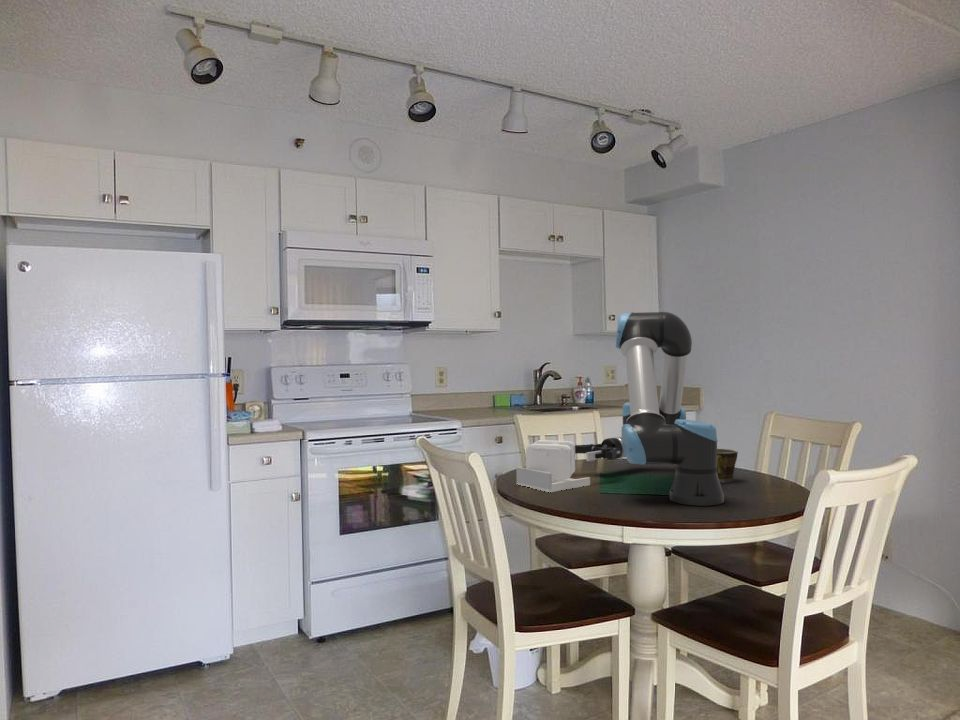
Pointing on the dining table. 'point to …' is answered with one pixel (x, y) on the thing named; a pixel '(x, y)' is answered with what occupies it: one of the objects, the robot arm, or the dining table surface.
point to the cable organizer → (552, 458)
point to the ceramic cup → (726, 464)
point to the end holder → (547, 480)
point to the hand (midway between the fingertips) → (572, 454)
